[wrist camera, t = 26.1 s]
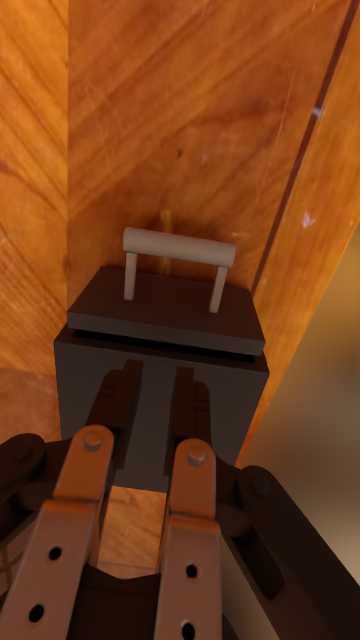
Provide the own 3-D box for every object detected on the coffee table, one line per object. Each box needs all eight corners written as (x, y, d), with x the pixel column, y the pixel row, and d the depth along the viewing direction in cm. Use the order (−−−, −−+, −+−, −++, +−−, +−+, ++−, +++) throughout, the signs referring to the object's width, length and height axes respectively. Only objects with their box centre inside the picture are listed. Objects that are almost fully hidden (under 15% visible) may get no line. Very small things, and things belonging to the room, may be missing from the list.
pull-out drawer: (102, 204, 23) (62, 232, 17) (265, 230, 24) (291, 268, 17) (100, 385, 33) (74, 450, 26) (216, 402, 33) (220, 470, 26)
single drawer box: (97, 278, 28) (52, 341, 19) (249, 302, 28) (270, 373, 20) (97, 397, 35) (64, 479, 27) (216, 414, 36) (221, 500, 27)
